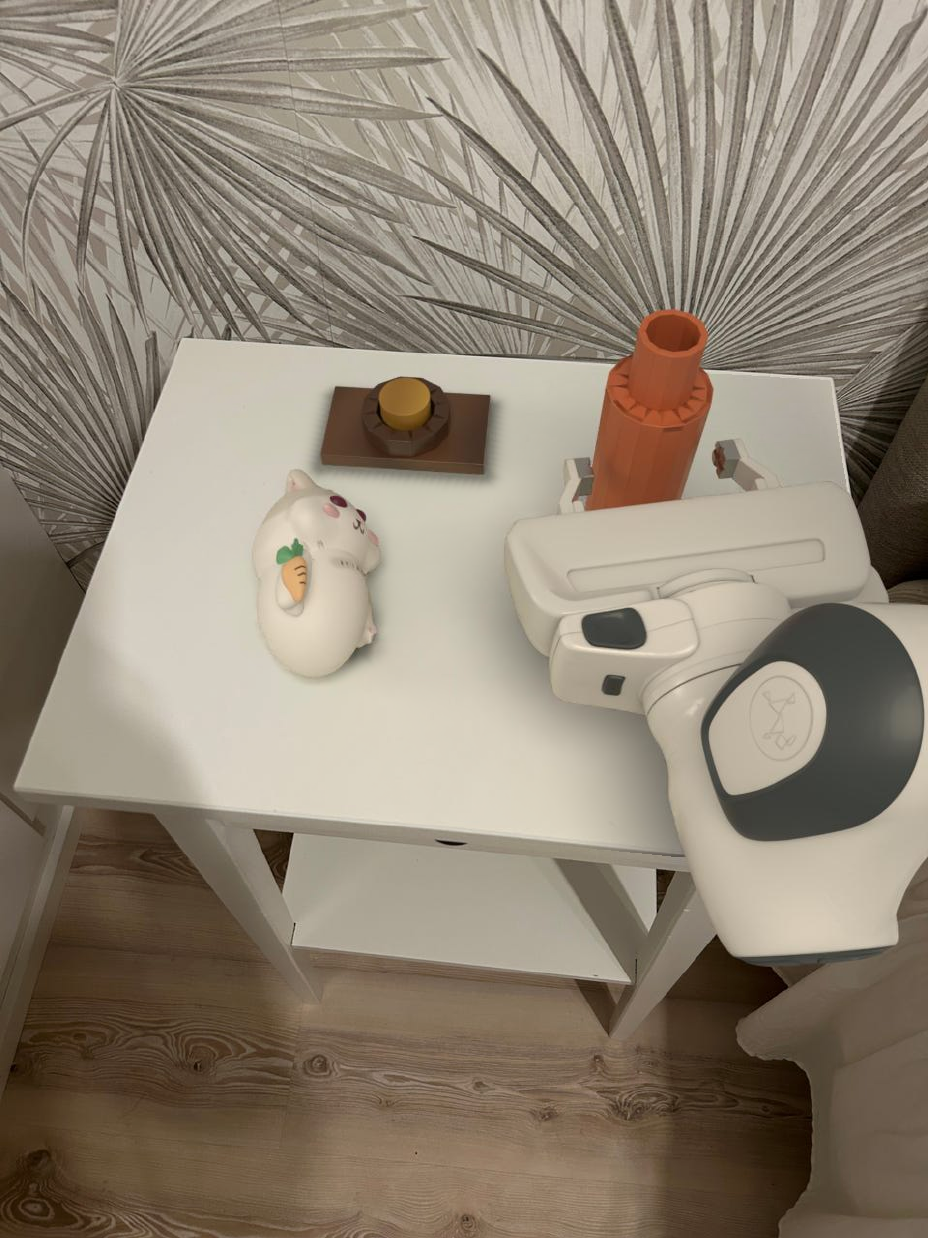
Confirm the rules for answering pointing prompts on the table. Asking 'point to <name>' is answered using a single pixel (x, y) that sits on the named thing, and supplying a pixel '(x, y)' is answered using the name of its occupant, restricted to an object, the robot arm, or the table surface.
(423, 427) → the brown button base
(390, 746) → the table surface
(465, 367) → the table surface
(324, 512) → the cat figurine
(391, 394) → the button
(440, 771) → the table surface
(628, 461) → the orange bottle
